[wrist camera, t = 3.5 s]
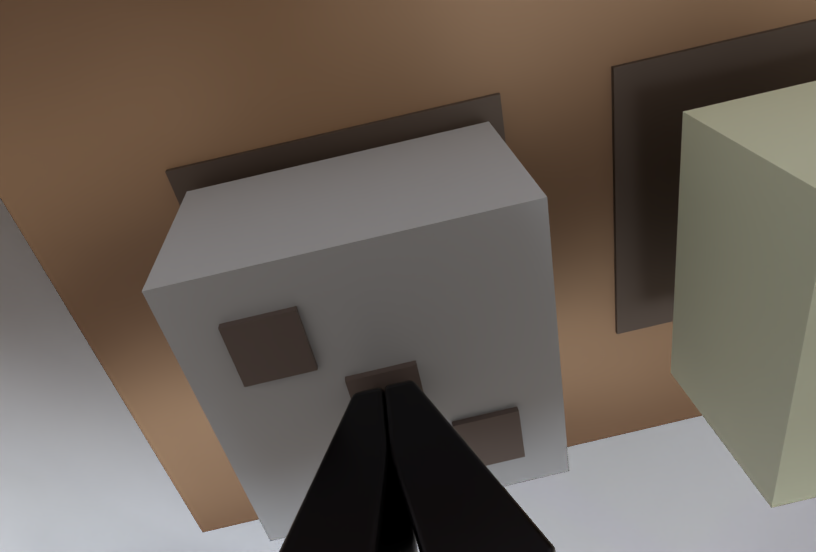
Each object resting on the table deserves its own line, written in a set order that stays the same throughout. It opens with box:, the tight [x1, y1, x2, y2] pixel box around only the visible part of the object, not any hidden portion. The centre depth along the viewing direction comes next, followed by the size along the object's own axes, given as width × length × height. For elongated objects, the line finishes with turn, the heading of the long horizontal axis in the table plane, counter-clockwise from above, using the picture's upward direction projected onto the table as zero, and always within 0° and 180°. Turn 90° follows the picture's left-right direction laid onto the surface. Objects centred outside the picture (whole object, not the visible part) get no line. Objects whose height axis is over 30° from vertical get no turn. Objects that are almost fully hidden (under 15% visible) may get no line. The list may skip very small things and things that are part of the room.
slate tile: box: [142, 122, 569, 541], centre depth 10 cm, size 5×5×3 cm
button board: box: [0, 0, 816, 532], centre depth 12 cm, size 12×26×1 cm, turn 101°
